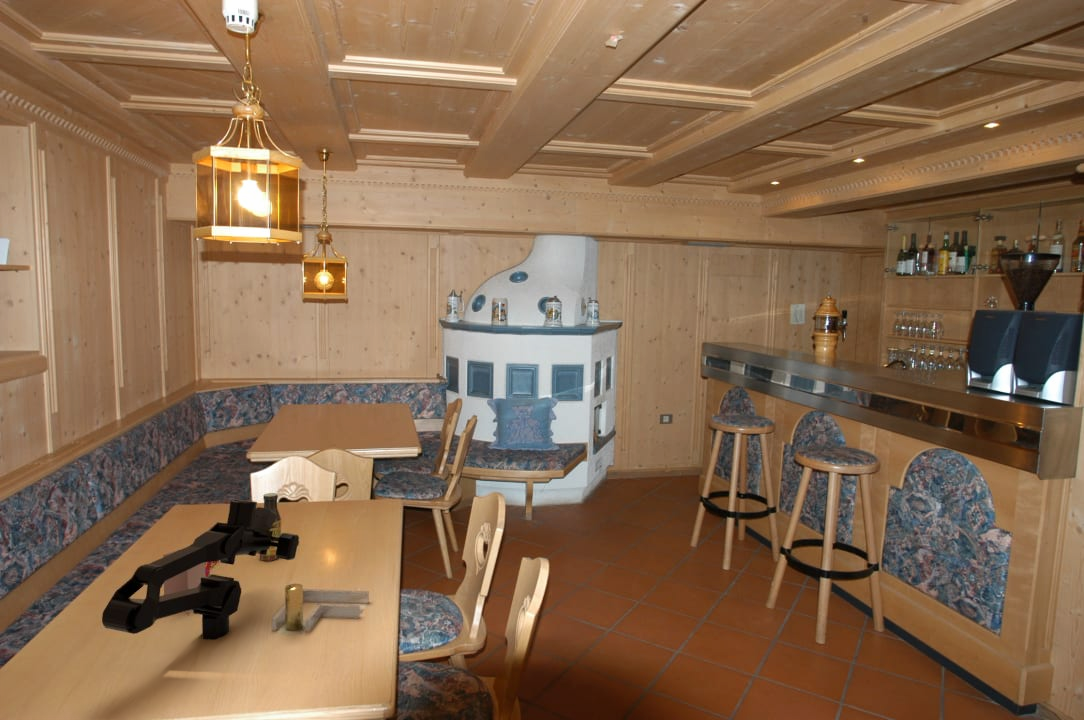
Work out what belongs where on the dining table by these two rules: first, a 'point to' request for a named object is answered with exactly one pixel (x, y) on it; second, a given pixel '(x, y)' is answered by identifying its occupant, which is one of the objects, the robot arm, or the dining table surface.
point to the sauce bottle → (271, 504)
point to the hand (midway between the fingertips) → (284, 540)
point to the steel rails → (327, 606)
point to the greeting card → (184, 579)
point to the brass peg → (293, 607)
